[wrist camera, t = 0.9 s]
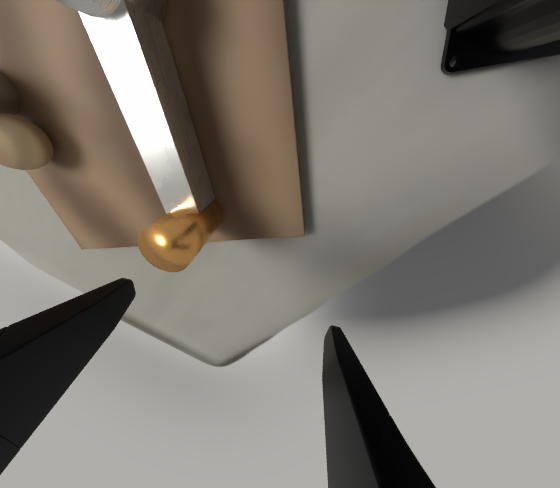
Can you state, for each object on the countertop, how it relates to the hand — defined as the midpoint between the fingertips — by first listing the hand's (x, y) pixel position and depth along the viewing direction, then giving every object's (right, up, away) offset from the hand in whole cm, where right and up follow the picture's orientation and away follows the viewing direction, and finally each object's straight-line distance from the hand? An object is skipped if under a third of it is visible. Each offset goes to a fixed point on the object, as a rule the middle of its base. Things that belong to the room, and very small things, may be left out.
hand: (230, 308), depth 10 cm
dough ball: (-16, +10, +6) cm, 20 cm away
